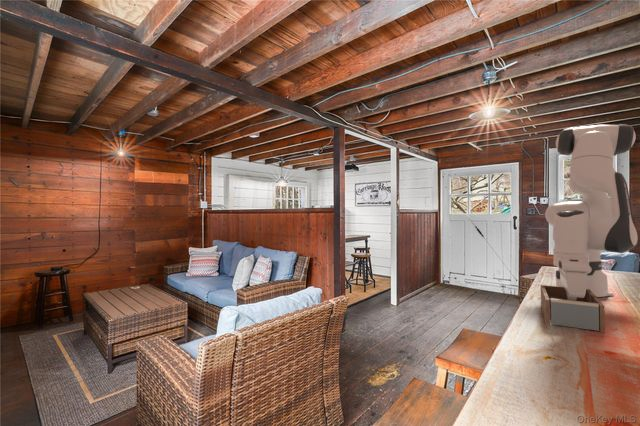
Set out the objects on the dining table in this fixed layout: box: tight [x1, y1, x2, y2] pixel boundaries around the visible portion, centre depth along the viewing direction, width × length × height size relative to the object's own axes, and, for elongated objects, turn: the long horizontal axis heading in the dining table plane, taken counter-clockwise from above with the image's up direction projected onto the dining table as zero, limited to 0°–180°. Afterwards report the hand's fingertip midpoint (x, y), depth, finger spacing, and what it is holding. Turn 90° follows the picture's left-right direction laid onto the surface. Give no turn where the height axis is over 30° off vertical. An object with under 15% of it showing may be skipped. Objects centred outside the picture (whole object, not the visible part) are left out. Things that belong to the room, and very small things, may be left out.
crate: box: [540, 284, 606, 333], centre depth 102 cm, size 20×14×8 cm
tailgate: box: [550, 298, 600, 332], centre depth 94 cm, size 1×11×8 cm, turn 58°
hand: (571, 304), depth 97 cm, fingers closed
